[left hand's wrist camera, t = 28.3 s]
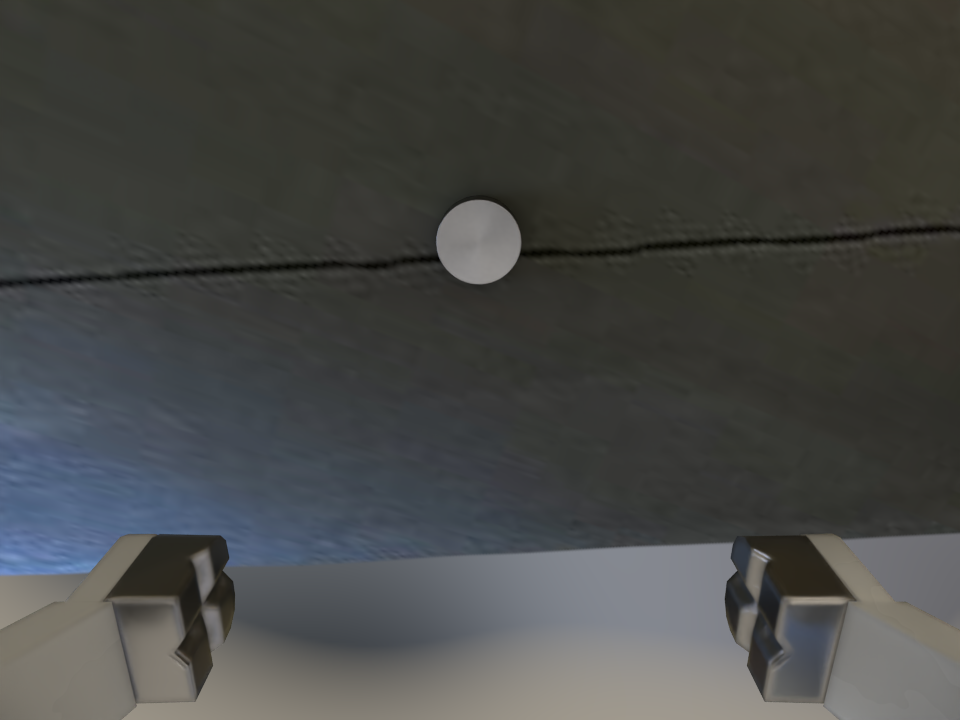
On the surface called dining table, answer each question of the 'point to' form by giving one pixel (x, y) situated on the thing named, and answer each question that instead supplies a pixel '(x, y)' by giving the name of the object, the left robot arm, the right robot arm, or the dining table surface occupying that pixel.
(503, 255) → the lid
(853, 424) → the dining table surface
